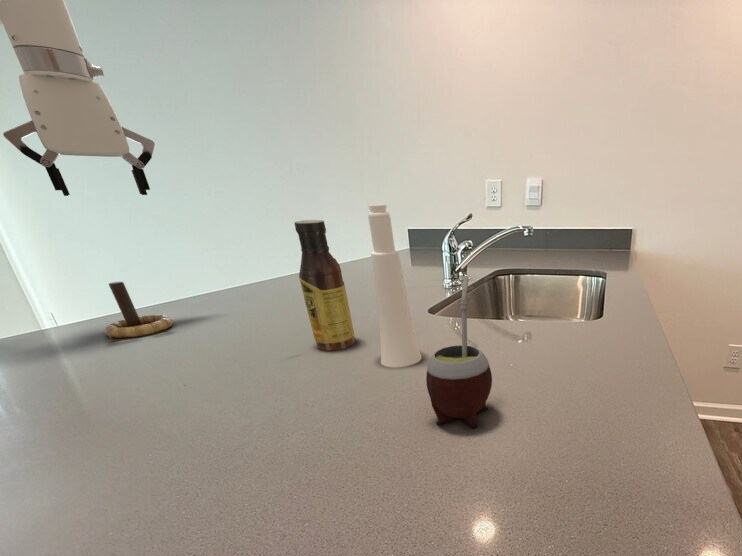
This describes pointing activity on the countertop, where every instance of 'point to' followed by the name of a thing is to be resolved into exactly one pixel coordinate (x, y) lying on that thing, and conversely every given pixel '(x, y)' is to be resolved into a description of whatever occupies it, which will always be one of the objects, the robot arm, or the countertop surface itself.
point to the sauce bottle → (323, 289)
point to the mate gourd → (459, 378)
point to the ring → (148, 326)
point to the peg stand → (126, 308)
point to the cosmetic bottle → (391, 294)
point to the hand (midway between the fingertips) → (107, 195)
